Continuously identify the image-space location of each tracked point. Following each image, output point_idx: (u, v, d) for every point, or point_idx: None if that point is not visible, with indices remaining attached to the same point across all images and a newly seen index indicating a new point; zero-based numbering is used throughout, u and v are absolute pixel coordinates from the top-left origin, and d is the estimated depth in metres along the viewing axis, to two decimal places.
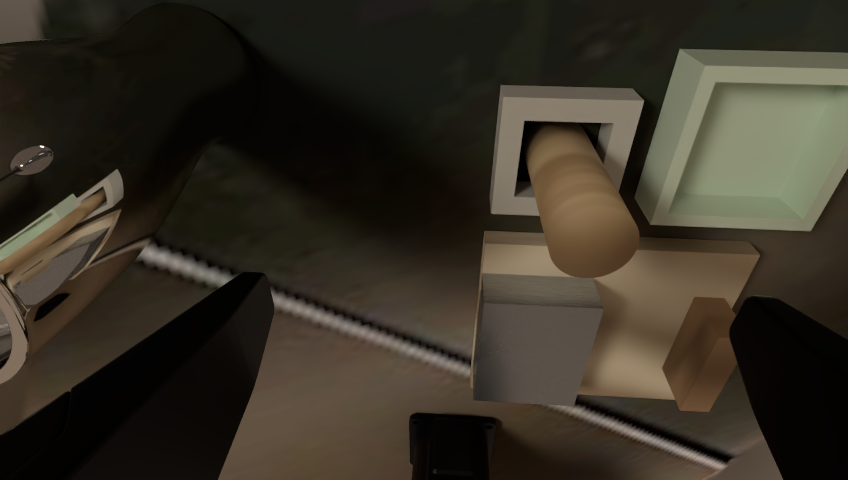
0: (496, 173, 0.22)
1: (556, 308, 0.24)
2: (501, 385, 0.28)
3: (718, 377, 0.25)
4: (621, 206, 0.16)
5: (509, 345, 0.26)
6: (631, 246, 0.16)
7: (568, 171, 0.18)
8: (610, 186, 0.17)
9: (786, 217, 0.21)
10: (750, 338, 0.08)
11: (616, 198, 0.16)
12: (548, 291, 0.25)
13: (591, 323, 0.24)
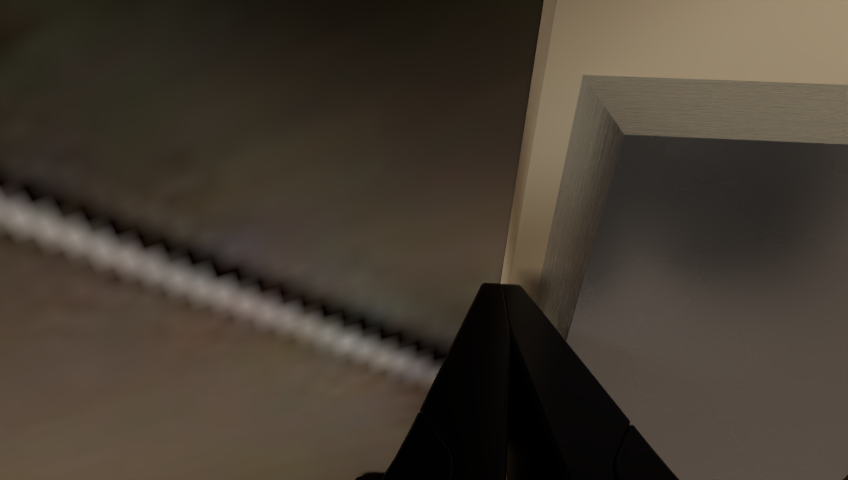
0: None
1: None
2: None
3: None
4: None
5: (678, 327, 0.07)
6: None
7: None
8: None
9: None
10: None
11: None
12: None
13: None
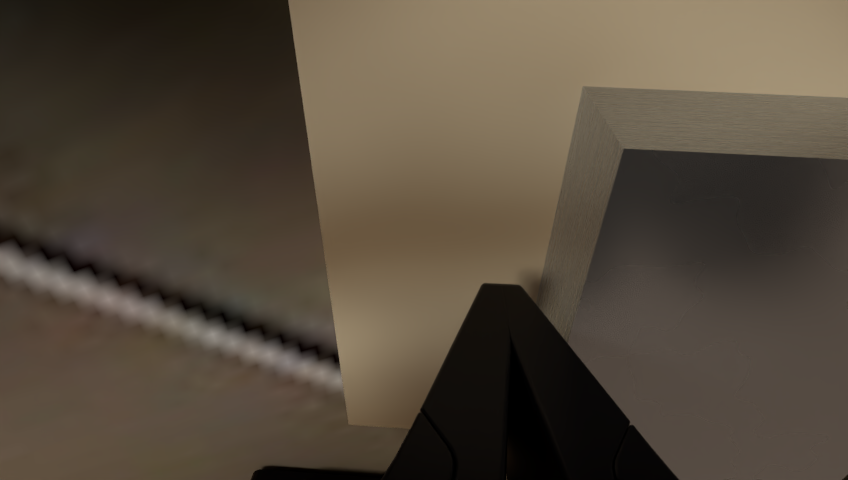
0: None
1: None
2: None
3: None
4: None
5: (676, 335, 0.07)
6: None
7: None
8: None
9: None
10: None
11: None
12: None
13: None
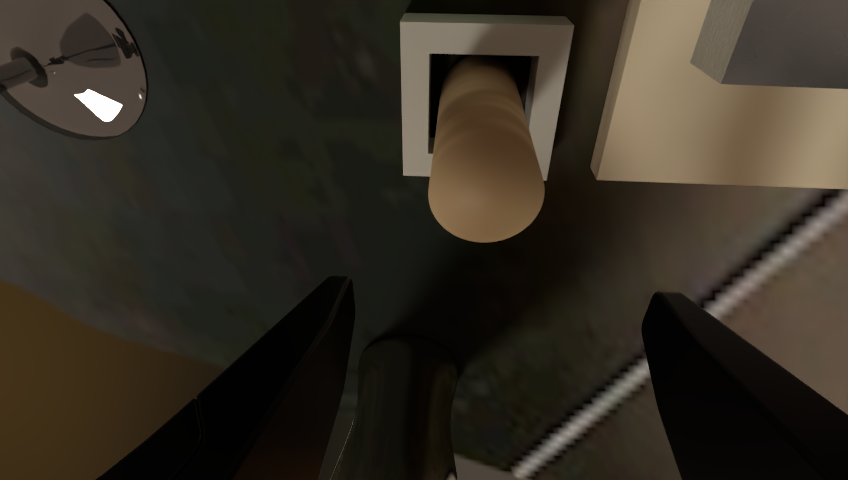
0: None
1: None
2: None
3: None
4: (437, 160, 0.12)
5: None
6: (488, 150, 0.12)
7: None
8: (439, 139, 0.13)
9: None
10: (656, 333, 0.08)
11: (437, 153, 0.13)
12: None
13: None
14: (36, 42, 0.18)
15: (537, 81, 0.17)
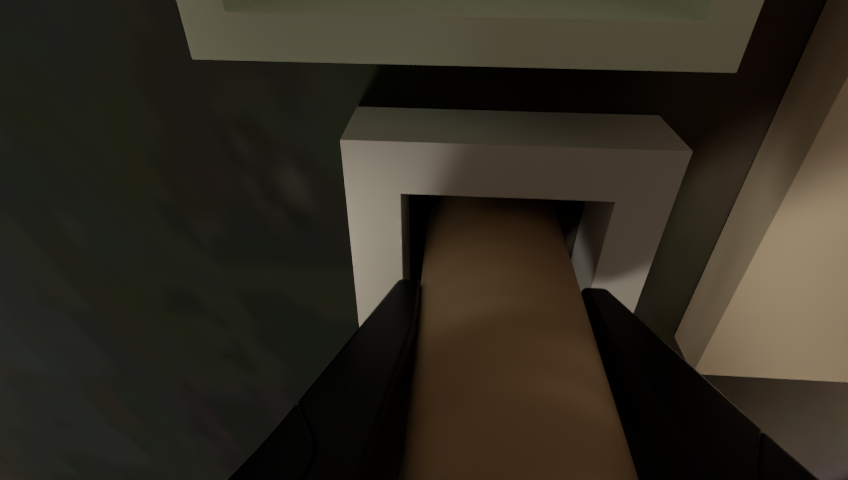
0: None
1: None
2: None
3: None
4: None
5: None
6: None
7: None
8: None
9: None
10: None
11: None
12: None
13: None
14: None
15: (608, 241, 0.09)
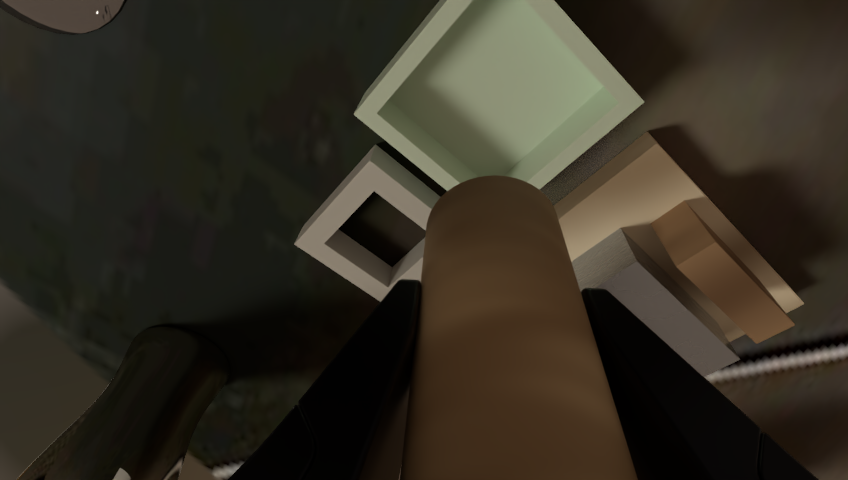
0: (356, 284, 0.23)
1: None
2: None
3: (744, 293, 0.18)
4: None
5: None
6: None
7: None
8: None
9: (601, 115, 0.17)
10: None
11: None
12: (577, 278, 0.21)
13: (642, 281, 0.19)
14: None
15: None
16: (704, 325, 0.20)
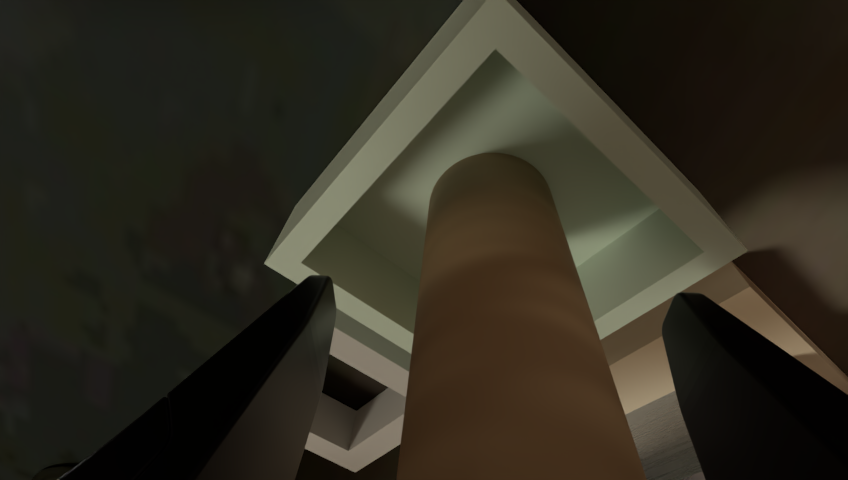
0: None
1: None
2: None
3: None
4: None
5: None
6: None
7: None
8: (415, 395, 0.06)
9: (672, 266, 0.10)
10: (677, 334, 0.08)
11: (409, 457, 0.05)
12: None
13: None
14: None
15: (402, 416, 0.15)
16: None
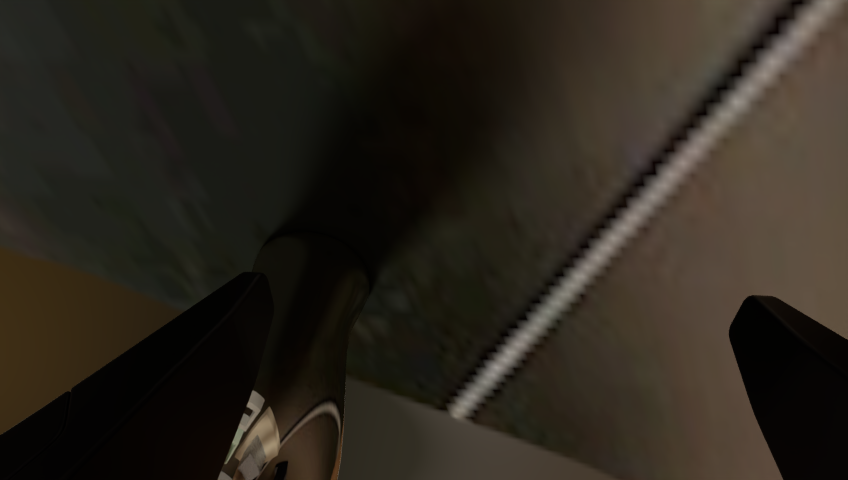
0: None
1: None
2: None
3: None
4: None
5: None
6: None
7: None
8: None
9: None
10: (750, 338, 0.08)
11: None
12: None
13: None
14: None
15: None
16: None
